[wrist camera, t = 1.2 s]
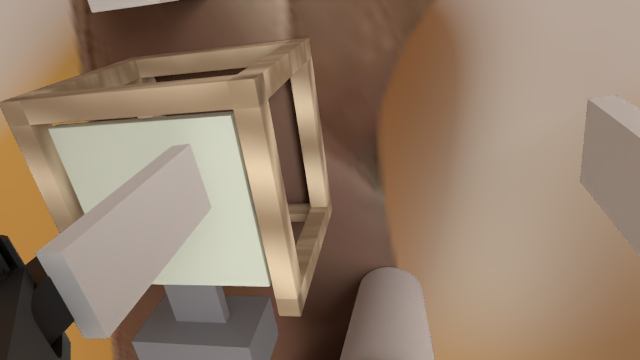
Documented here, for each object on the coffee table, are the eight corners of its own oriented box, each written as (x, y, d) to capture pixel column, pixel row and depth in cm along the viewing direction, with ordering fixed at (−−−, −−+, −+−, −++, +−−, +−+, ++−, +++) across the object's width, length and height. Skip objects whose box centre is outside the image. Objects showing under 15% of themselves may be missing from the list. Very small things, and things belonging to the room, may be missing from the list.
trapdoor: (80, 114, 28) (20, 141, 24) (247, 100, 26) (215, 128, 21) (163, 329, 37) (130, 378, 32) (296, 335, 34) (280, 389, 30)
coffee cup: (348, 323, 47) (325, 463, 34) (341, 253, 43) (313, 381, 29) (436, 328, 45) (450, 479, 32) (439, 255, 41) (456, 394, 27)
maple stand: (132, 57, 37) (-2, 102, 25) (309, 37, 34) (254, 78, 21) (181, 213, 44) (95, 309, 32) (332, 209, 40) (300, 316, 28)
